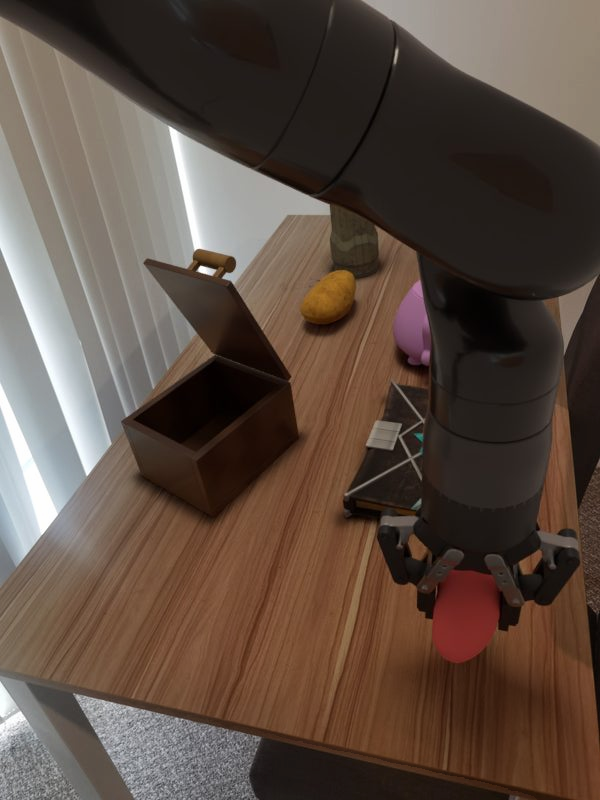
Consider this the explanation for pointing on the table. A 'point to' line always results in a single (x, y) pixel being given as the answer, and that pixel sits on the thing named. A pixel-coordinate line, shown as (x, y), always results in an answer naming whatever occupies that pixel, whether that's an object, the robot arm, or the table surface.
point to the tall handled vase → (353, 243)
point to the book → (392, 458)
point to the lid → (218, 311)
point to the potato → (330, 298)
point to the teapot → (413, 327)
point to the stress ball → (465, 614)
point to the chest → (213, 432)
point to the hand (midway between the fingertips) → (466, 614)
